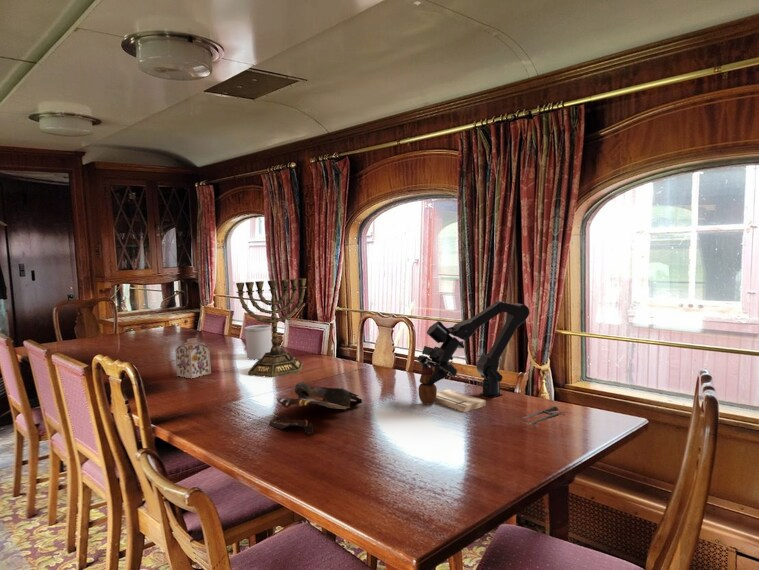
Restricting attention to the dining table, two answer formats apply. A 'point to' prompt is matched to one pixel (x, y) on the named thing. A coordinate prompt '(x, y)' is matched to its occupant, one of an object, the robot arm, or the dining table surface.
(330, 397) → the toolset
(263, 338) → the utensil holder
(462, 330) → the robot arm
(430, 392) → the wooden figurine
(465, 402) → the maple board
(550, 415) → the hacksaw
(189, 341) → the decorative jar
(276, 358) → the menorah
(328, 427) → the dining table surface
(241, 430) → the dining table surface
